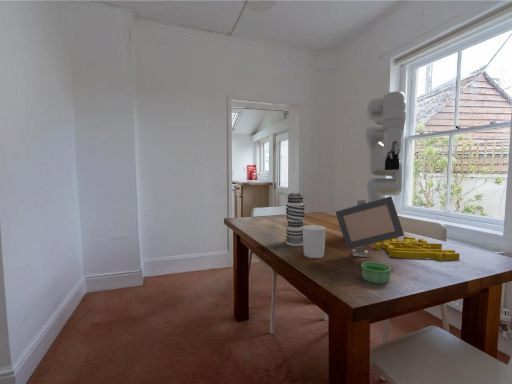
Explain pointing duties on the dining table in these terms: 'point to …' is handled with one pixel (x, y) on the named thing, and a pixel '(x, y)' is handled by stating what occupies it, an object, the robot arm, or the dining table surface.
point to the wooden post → (361, 249)
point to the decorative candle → (295, 219)
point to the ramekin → (376, 272)
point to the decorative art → (416, 249)
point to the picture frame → (369, 222)
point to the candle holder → (314, 240)
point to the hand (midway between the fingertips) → (391, 169)
